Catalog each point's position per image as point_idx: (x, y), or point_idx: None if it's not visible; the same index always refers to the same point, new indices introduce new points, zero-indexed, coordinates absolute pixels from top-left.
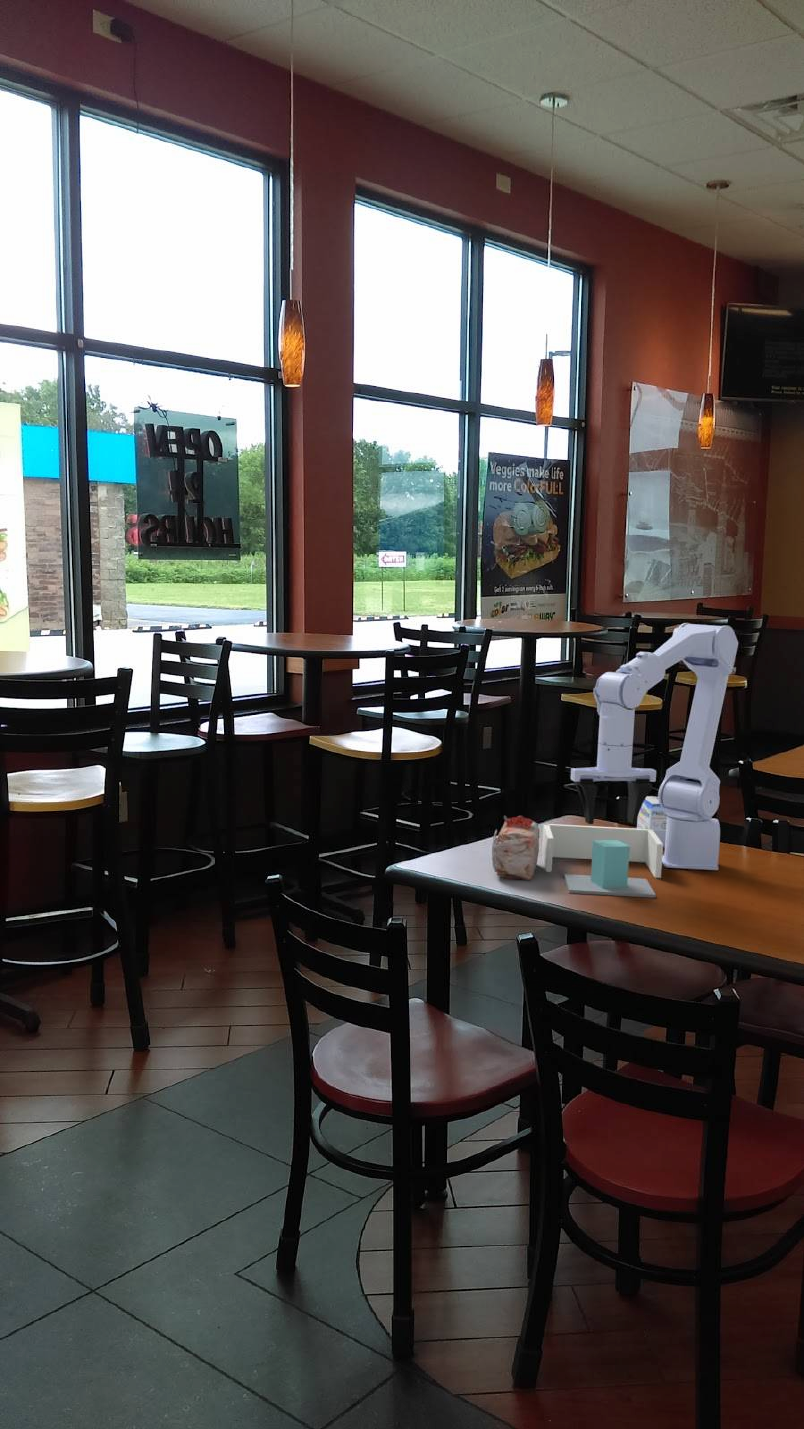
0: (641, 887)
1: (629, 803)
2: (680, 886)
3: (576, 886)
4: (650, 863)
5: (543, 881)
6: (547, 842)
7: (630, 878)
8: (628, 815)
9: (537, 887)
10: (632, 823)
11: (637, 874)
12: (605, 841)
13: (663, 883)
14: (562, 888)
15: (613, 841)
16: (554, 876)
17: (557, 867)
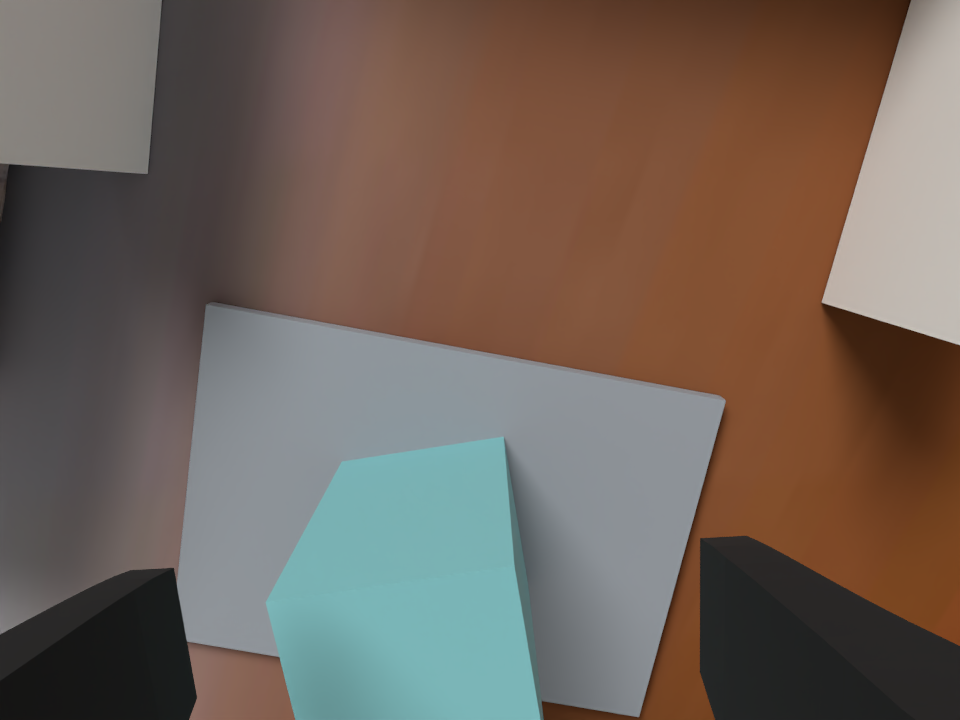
0: (614, 586)
1: (823, 681)
2: (892, 490)
3: (226, 575)
4: (911, 81)
5: (63, 402)
6: None
7: (622, 398)
8: (727, 591)
9: (12, 527)
10: (703, 676)
11: (737, 217)
12: (376, 631)
13: (816, 429)
14: (156, 544)
15: (456, 625)
16: (151, 284)
17: (213, 38)
